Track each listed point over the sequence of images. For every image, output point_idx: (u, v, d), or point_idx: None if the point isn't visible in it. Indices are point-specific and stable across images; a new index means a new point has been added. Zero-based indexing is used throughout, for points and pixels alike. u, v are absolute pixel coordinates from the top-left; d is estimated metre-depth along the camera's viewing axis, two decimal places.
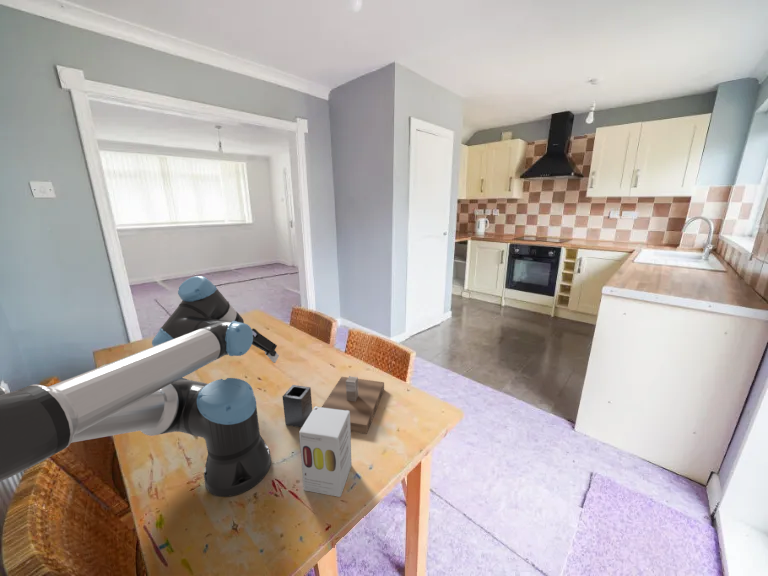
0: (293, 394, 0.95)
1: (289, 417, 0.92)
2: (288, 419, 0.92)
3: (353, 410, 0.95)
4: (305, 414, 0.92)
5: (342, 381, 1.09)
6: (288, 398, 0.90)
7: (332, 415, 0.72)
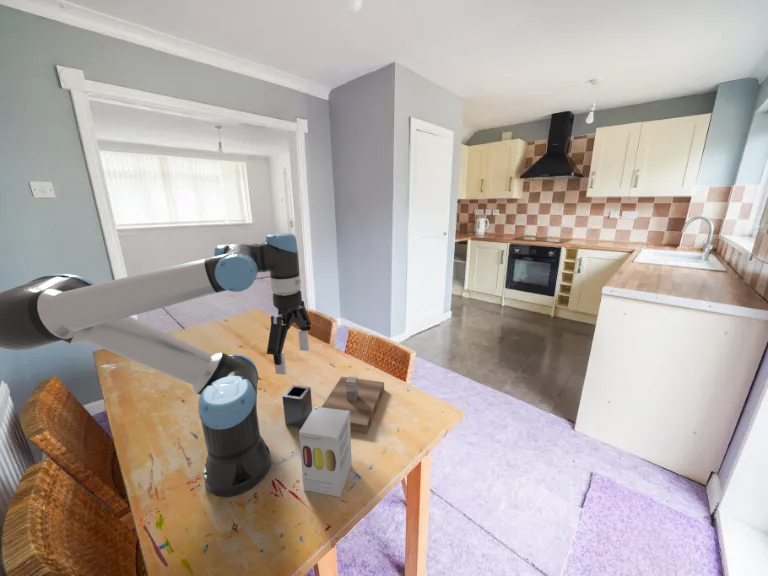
0: (293, 394, 0.95)
1: (289, 417, 0.92)
2: (288, 419, 0.92)
3: (353, 410, 0.95)
4: (305, 414, 0.92)
5: (342, 381, 1.09)
6: (288, 398, 0.90)
7: (332, 415, 0.72)
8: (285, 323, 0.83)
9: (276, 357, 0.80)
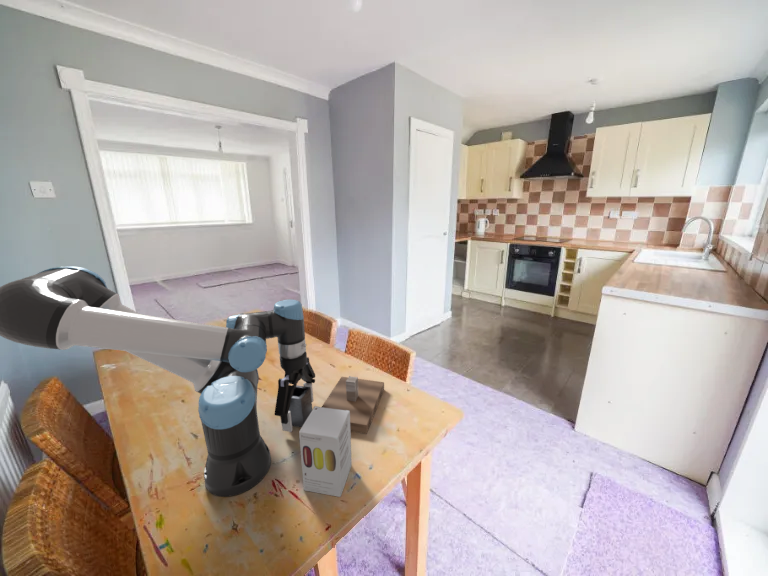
0: (293, 394, 0.95)
1: None
2: None
3: (353, 410, 0.95)
4: (305, 414, 0.92)
5: (342, 381, 1.09)
6: None
7: (332, 415, 0.72)
8: (291, 383, 0.88)
9: (283, 417, 0.85)
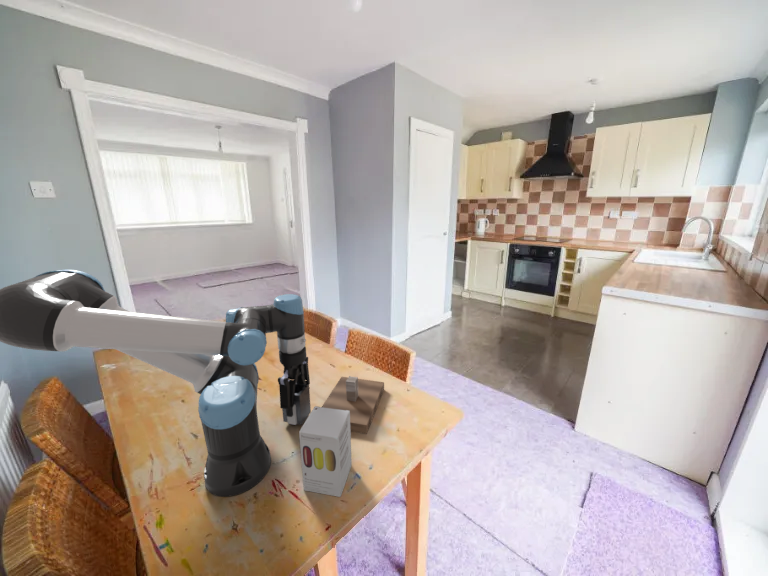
0: None
1: None
2: (286, 416, 0.92)
3: (353, 410, 0.95)
4: (303, 411, 0.92)
5: (342, 381, 1.09)
6: None
7: (332, 415, 0.72)
8: (290, 378, 0.88)
9: (288, 410, 0.88)
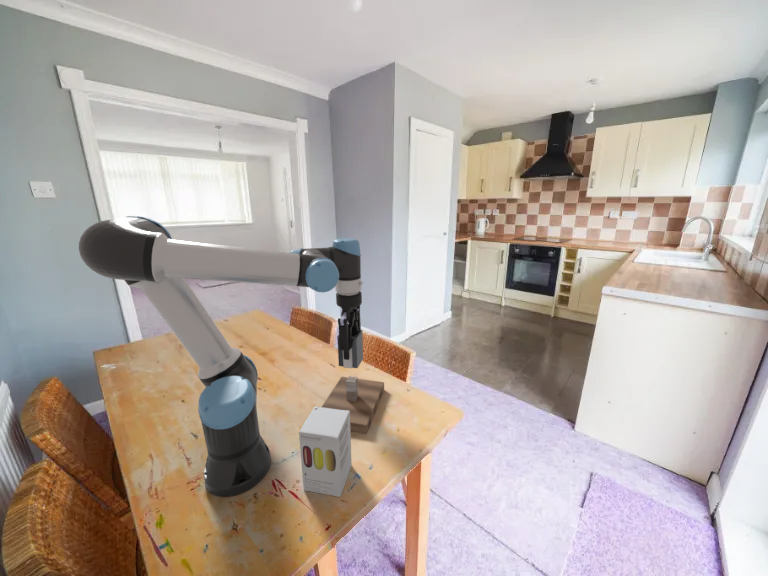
0: None
1: None
2: (342, 360, 0.94)
3: (353, 410, 0.95)
4: (358, 355, 0.94)
5: (342, 381, 1.09)
6: None
7: (332, 415, 0.72)
8: (347, 321, 0.90)
9: (346, 353, 0.91)
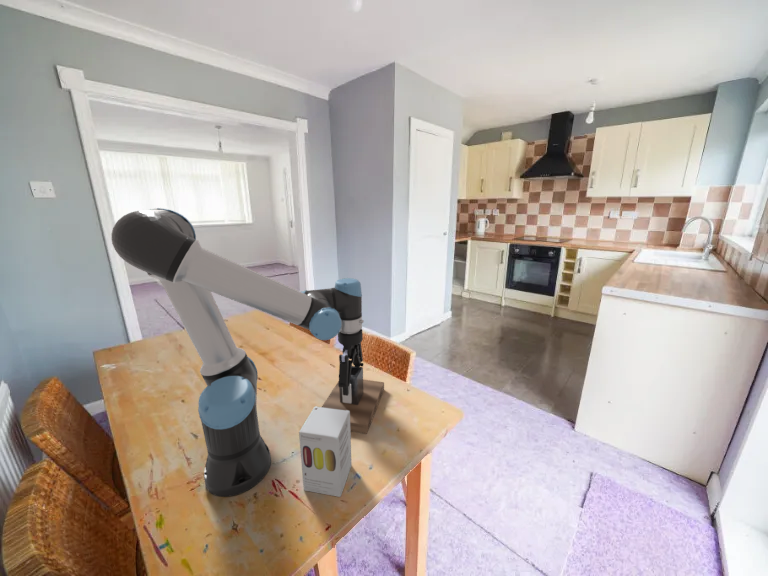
0: None
1: None
2: None
3: (353, 410, 0.95)
4: (359, 392, 0.97)
5: None
6: None
7: (332, 415, 0.72)
8: (348, 357, 0.93)
9: (345, 389, 0.92)
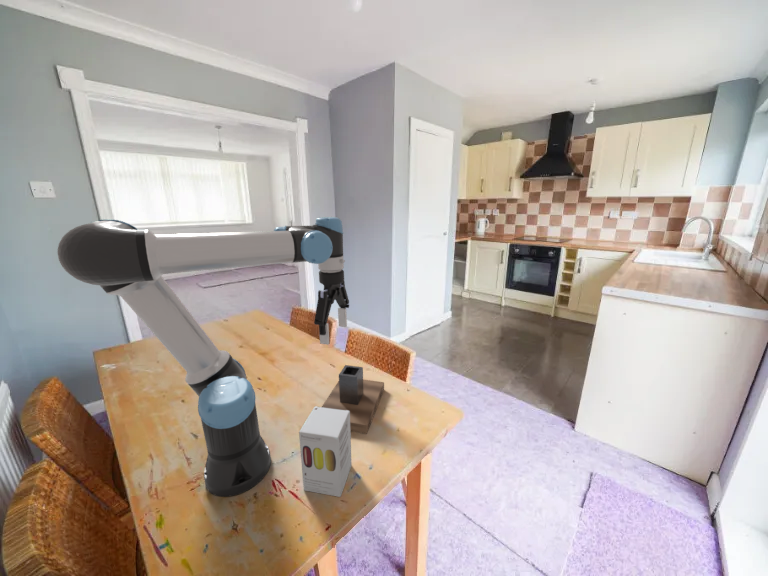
0: (346, 374, 1.00)
1: (344, 394, 0.97)
2: (343, 397, 0.97)
3: (353, 410, 0.95)
4: (359, 392, 0.97)
5: None
6: (344, 376, 0.95)
7: (332, 415, 0.72)
8: (329, 298, 0.92)
9: (321, 328, 0.89)
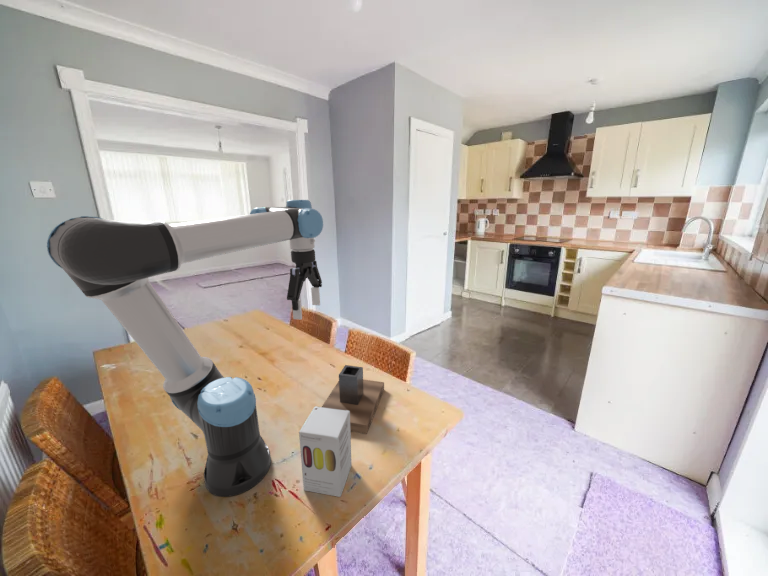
0: (346, 374, 1.00)
1: (344, 394, 0.97)
2: (343, 397, 0.97)
3: (353, 410, 0.95)
4: (359, 392, 0.97)
5: None
6: (344, 376, 0.95)
7: (332, 415, 0.72)
8: (301, 276, 0.98)
9: (294, 303, 0.95)
